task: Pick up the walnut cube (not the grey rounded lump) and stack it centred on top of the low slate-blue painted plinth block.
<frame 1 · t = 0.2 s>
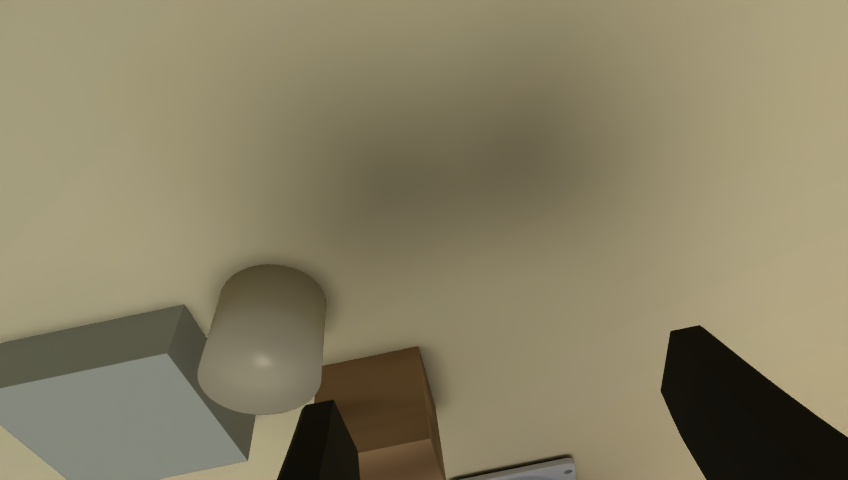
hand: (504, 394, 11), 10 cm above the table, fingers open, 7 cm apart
walnut cube: (379, 386, 26), on the table
slate plinth: (143, 375, 25), on the table
grey rounded lump: (274, 303, 22), on the table
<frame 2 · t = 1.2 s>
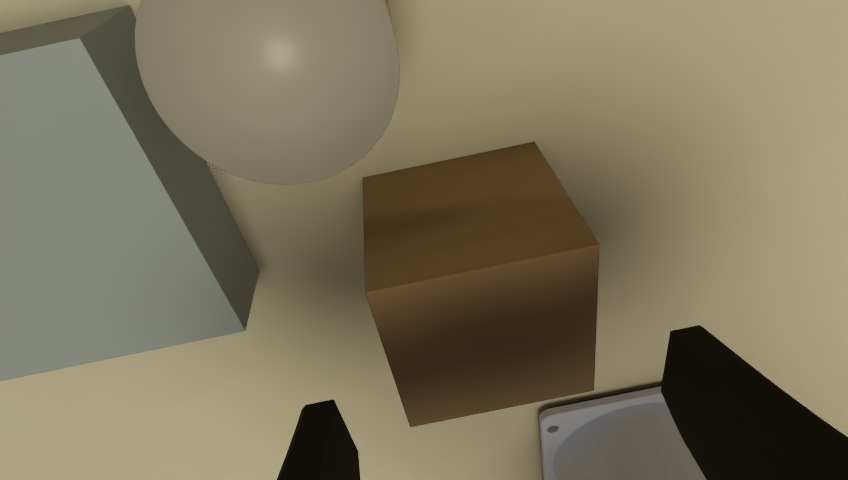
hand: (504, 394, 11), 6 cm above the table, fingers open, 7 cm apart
walnut cube: (459, 227, 16), on the table
slate plinth: (69, 183, 14), on the table
grey rounded lump: (295, 18, 12), on the table
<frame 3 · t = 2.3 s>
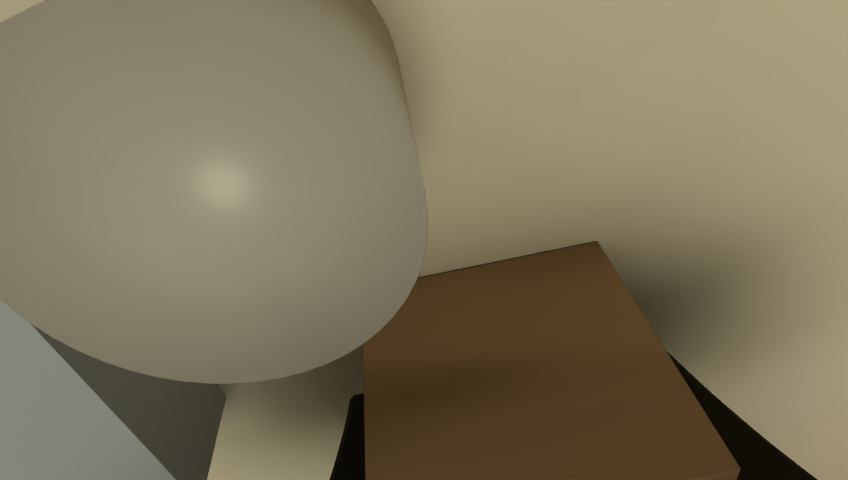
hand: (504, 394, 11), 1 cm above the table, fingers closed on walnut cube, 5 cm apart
walnut cube: (490, 344, 12), on the table, touching gripper
grey rounded lump: (262, 88, 8), on the table
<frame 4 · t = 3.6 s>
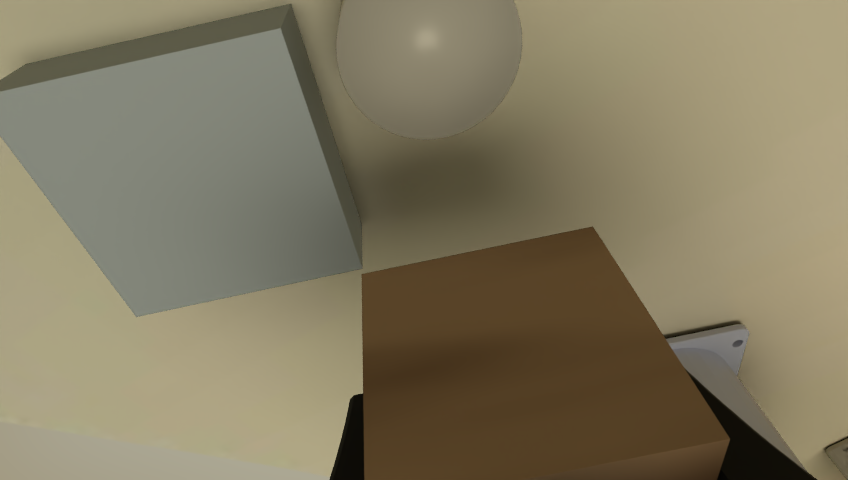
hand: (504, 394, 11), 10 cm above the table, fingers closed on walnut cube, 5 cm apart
walnut cube: (488, 330, 12), point 8 cm above the table, touching gripper
slate plinth: (218, 150, 18), on the table
grey rounded lump: (416, 13, 15), on the table
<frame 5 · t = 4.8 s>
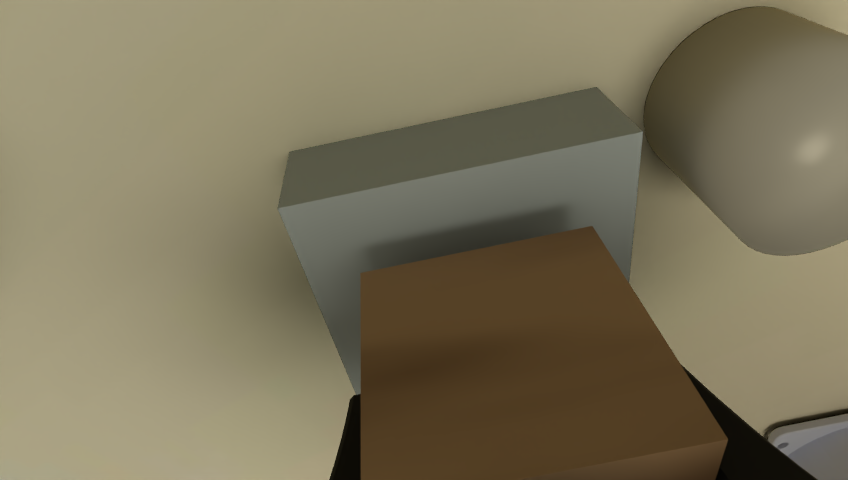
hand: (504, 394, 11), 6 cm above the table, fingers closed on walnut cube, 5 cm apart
walnut cube: (487, 329, 12), point 4 cm above the table, touching gripper
slate plinth: (460, 234, 16), on the table
grey rounded lump: (726, 95, 14), on the table
when the fingers open (5 cm above the table, at t = 5.3 s): walnut cube drops 1 cm, resting on slate plinth.
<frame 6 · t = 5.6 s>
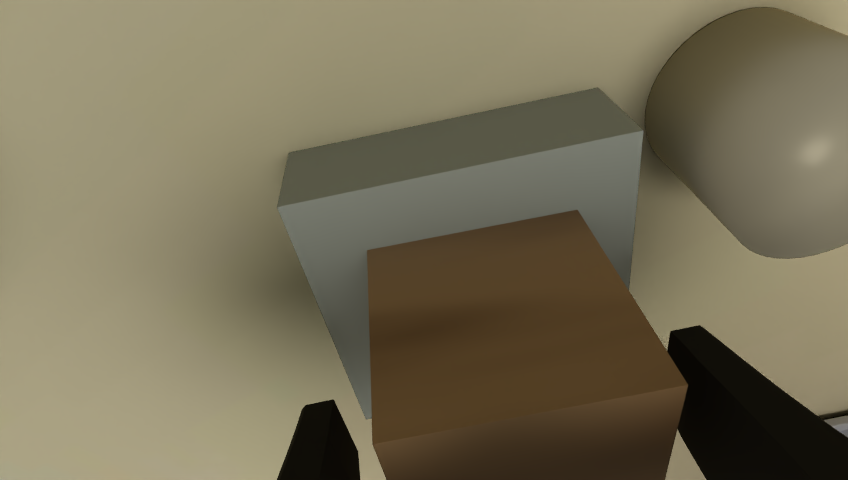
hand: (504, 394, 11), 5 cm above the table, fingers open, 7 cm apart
walnut cube: (481, 305, 14), point 3 cm above the table, touching slate plinth
slate plinth: (460, 234, 16), on the table, touching walnut cube
grey rounded lump: (728, 96, 14), on the table
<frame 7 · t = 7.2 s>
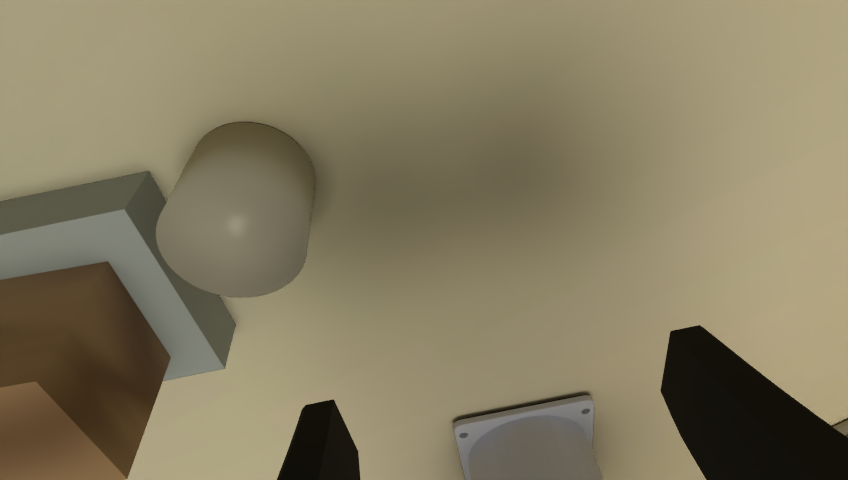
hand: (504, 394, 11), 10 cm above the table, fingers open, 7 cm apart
walnut cube: (74, 324, 19), point 2 cm above the table, touching slate plinth
slate plinth: (105, 268, 21), on the table, touching walnut cube
grey rounded lump: (254, 178, 19), on the table
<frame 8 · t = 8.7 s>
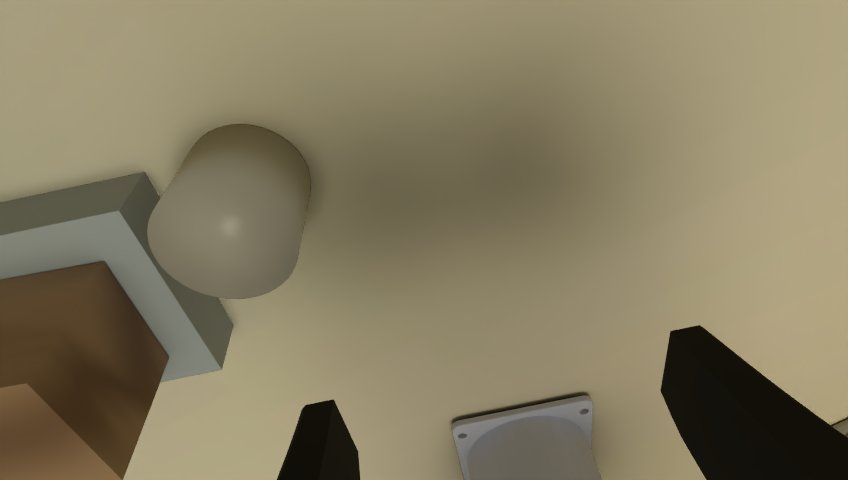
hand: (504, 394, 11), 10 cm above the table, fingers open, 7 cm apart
walnut cube: (72, 325, 19), point 3 cm above the table, touching slate plinth
slate plinth: (102, 269, 21), on the table, touching walnut cube
grey rounded lump: (249, 180, 19), on the table
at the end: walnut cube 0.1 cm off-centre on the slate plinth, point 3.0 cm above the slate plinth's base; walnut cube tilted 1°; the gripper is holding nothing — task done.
